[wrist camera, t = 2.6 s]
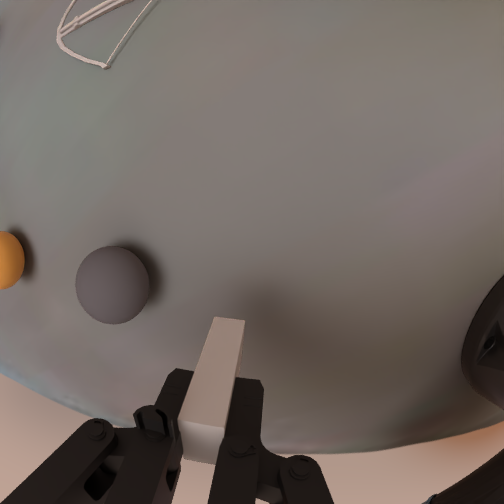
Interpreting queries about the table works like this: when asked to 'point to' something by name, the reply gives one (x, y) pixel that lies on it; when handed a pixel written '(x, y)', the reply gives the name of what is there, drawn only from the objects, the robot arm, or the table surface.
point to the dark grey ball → (112, 285)
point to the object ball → (10, 260)
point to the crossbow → (111, 3)
